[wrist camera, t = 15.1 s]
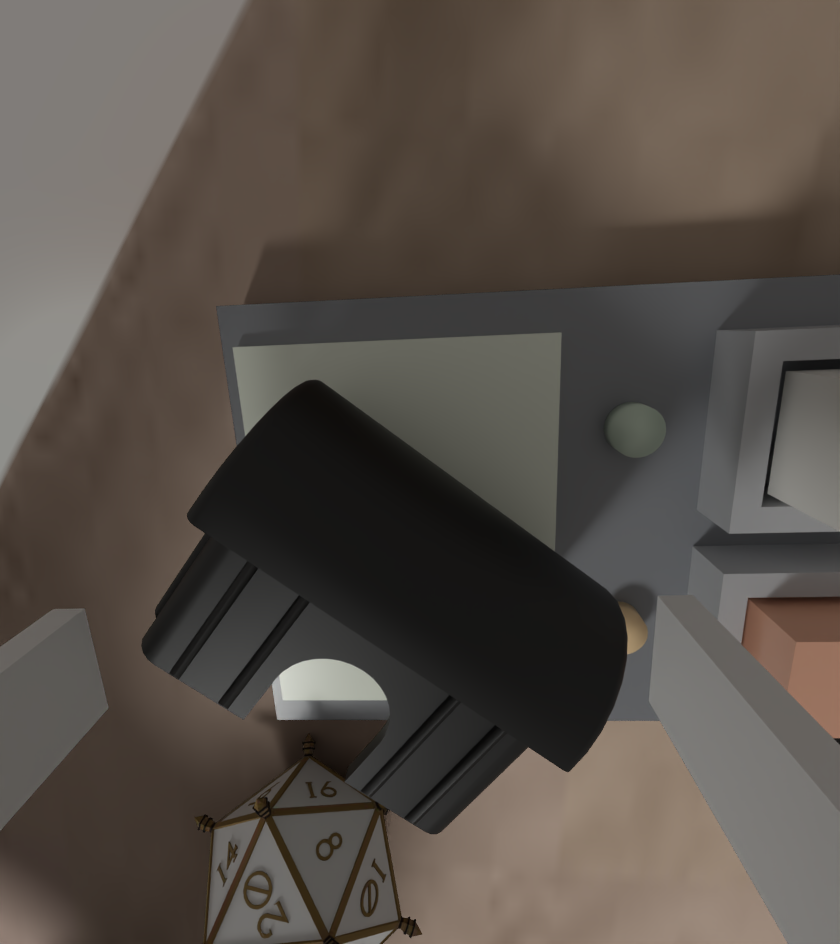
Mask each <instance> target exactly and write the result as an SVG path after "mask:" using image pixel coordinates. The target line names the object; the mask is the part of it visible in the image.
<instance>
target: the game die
mask: <svg viewBox="0 0 840 944" xmlns="http://www.w3.org/2000/svg"><path fill="white" fill-rule="evenodd" d="M314 744H315V742H314V741H313V739H312V738H311V736H310V734H308V736H307V737H306V739H305V741H304V742H303V745H304V748H303V751H304V753H305V755H304V757H303V758H302V759H300V760H299V761H298V762H296V763H295V764H294V765H292V766H291V767H290V768H288V769H287V770H286V771H284V772H283V773H282V774H280V775H279V776H278V777H276V778H275V779H274V780H272V781H271V782H270V783H268V784H267V785H266V786H264V787H263V788H262V789H260V790H259V791H258V792H256V793H255V794H254V795H252V796H251V797H250V798H248V799H247V800H246V801H244V802H243V803H242V804H240V805H239V806H238V807H236V808H235V809H234V810H232V811H231V812H230V813H228V814H227V815H226V816H224V817H223V818H222V819H220V820H219V821H218V822H216V823H215V822H214V821H213V820H212V819H213V818H208V815H204V816H199V817H194V818H195V821H196V823H197V826H198V830H200V829H201V830H203V832H205V831H210V832H211V842H210V856H209V870H208V884H207V898H206V912H205V926H204V939H203V944H383V943H384V942H385V941H386V940H387V939H388V938H389V937H390V936H391V935H392V934H393V933H394V932H395V931H396V930H397V929H398V928H400V929H401V930H402V931H403V932H404V934H405V935H406V934H408V935H409V937H410V938H411V937H412V936H417V935H422V933H421V931H420V929H419V927H418V925H417V923H416V919H415V920H411V919H410V917H408V918H403V917H402V916H401V911H400V905H399V899H398V894H397V888H396V883H395V877H394V871H393V866H392V860H391V854H390V849H389V843H388V838H387V832H386V826H385V821H384V815H387V812H388V809H387V808H386V807H384V806H383V805H381V804H379V803H378V802H376V801H374V800H373V799H371V798H370V797H368V796H366V795H365V794H363V793H361V792H360V791H358V790H357V789H355V788H353V787H352V786H350V785H349V784H347V783H345V778H344V777H342V776H341V775H339V774H338V773H336V772H335V771H333V770H332V769H330V768H329V767H327V766H326V765H325V764H323V763H322V762H320V761H319V760H317V759H316V758H314V757H313V756H312V753H313V750H314V749H315V748H314Z"/></svg>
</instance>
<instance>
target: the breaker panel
mask: <svg viewBox="0 0 840 944" xmlns="http://www.w3.org/2000/svg"><path fill="white" fill-rule="evenodd" d="M216 308H217V315H218V322H219V329H220V336H221V342H222V349H223V356H224V363H225V369H226V376H227V383H228V390H229V397H230V403H231V410H232V417H233V424H234V430H235V437H236V444H237V445H238V444H239V443H240V442H241V441H242V439H243V438H244V437H245V436H246V435H247V434H248V432H249V431H250V430H251V429H252V428H253V427H254V426H255V424H256V423H257V422H258V421H259V420H260V419H261V418H262V417H263V416H264V415H265V414H266V413H267V412H268V411H269V410H270V409H271V408H272V407H273V406H274V405H275V404H276V403H277V402H278V401H279V400H280V399H281V398H282V397H283V396H284V395H286V394H287V393H288V392H289V391H291V390H292V389H293V388H294V387H296V386H298V385H299V384H301V383H303V382H305V381H308V380H320V381H322V382H323V383H325V384H326V385H327V386H329V387H330V388H332V389H333V390H334V391H336V392H337V393H338V394H340V395H341V396H342V397H344V398H345V399H347V400H348V401H349V402H351V403H352V404H353V405H355V406H356V407H358V408H359V409H360V410H362V411H363V412H364V413H366V414H367V415H369V416H370V417H371V418H373V419H374V420H375V421H377V422H378V423H379V424H381V425H382V426H384V427H385V428H386V429H388V430H389V431H390V432H392V433H393V434H395V435H396V436H397V437H399V438H400V439H401V440H403V441H404V442H406V443H407V444H408V445H410V446H411V447H412V448H414V449H415V450H416V451H418V452H419V453H421V454H422V455H423V456H425V457H426V458H427V459H429V460H430V461H432V462H433V463H434V464H436V465H437V466H438V467H440V468H441V469H443V470H444V471H445V472H447V473H448V474H449V475H451V476H452V477H453V478H455V479H456V480H458V481H459V482H460V483H462V484H463V485H464V486H466V487H467V488H469V489H470V490H471V491H473V492H474V493H475V494H477V495H478V496H480V497H481V498H482V499H484V500H485V501H486V502H488V503H489V504H490V505H492V506H493V507H495V508H496V509H497V510H499V511H500V512H501V513H503V514H504V515H506V516H507V517H508V518H510V519H511V520H512V521H514V522H515V523H517V524H518V525H519V526H521V527H522V528H523V529H525V530H526V531H527V532H529V533H530V534H532V535H533V536H534V537H536V538H537V539H538V540H540V541H541V542H543V543H544V544H545V545H547V546H548V547H549V548H551V549H552V550H554V551H555V552H556V553H558V554H559V555H560V556H562V557H563V558H564V559H566V560H567V561H569V562H570V563H571V564H573V565H574V566H575V567H577V568H578V569H580V570H581V571H582V572H584V573H585V574H586V575H588V576H589V577H591V578H592V579H593V580H595V581H596V582H597V583H599V584H600V585H602V586H603V587H604V588H606V589H607V590H608V591H609V592H610V593H611V595H612V596H613V597H614V598H615V599H616V600H617V602H618V604H619V606H620V608H621V611H622V613H623V615H624V618H625V623H626V629H627V635H628V644H627V662H626V667H625V672H624V677H623V682H622V685H621V688H620V691H619V694H618V697H617V700H616V703H615V706H614V708H613V710H612V712H611V714H610V716H609V718H608V720H607V721H660V720H659V718H658V716H657V715H656V713H655V711H654V709H653V708H652V706H651V704H650V703H649V692H650V680H651V669H652V657H653V645H654V634H655V622H656V610H657V599H658V596H670V595H694V596H695V597H696V599H697V600H698V601H699V602H700V603H701V604H702V605H703V606H704V607H705V608H706V609H707V610H708V611H709V612H710V613H711V614H712V615H713V616H714V617H715V618H716V619H717V620H718V621H719V622H720V623H721V624H722V625H723V626H724V627H725V628H726V629H727V630H728V631H729V632H730V633H731V634H732V635H733V636H734V637H735V638H736V639H737V640H738V641H739V642H740V643H741V642H742V635H743V628H744V621H745V615H746V608H747V601H748V598H766V597H840V532H839V531H837V530H835V529H834V528H832V527H830V526H828V525H826V524H824V523H822V522H820V521H818V520H816V519H815V518H813V517H811V516H809V515H807V514H805V513H803V512H801V511H799V510H797V509H796V508H794V507H792V506H790V505H788V504H786V503H784V502H782V501H780V500H778V499H777V498H775V497H773V496H771V495H769V494H768V487H769V480H770V474H771V467H772V460H773V454H774V447H775V441H776V434H777V427H778V421H779V414H780V407H781V401H782V394H783V387H784V381H785V374H786V371H803V370H829V369H840V275H821V276H802V277H782V278H762V279H742V280H723V281H703V282H683V283H663V284H643V285H624V286H604V287H584V288H564V289H545V290H525V291H505V292H485V293H466V294H446V295H426V296H406V297H387V298H367V299H347V300H327V301H308V302H288V303H268V304H248V305H229V306H216ZM272 688H273V695H274V701H275V708H276V715H277V720H388V718H389V716H390V710H389V704H388V701H387V698H386V696H385V694H384V692H383V691H382V689H381V687H380V686H379V685H378V684H377V683H376V681H375V680H374V679H373V678H372V677H371V676H369V675H368V674H367V673H365V672H364V671H363V670H361V669H359V668H357V667H355V666H353V665H351V664H348V663H345V662H342V661H338V660H332V659H312V660H307V661H302V662H300V663H297V664H295V665H292V666H291V667H289V668H288V669H286V670H285V671H283V672H282V673H281V674H280V675H279V676H278V677H277V678H276V679H275V680H274V682H273V683H272Z"/></svg>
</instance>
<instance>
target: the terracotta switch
mask: <svg viewBox="0 0 840 944" xmlns="http://www.w3.org/2000/svg"><path fill="white" fill-rule="evenodd" d="M741 645H742V646H743V647H744V648H745V649H746V650H747V651H748V652H749V653H750V654H751V655H752V656H753V657H754V658H755V659H756V660H757V661H758V662H759V663H760V664H761V665H762V666H763V667H764V668H765V669H766V670H767V671H768V672H769V673H770V674H771V675H772V676H773V677H774V678H775V679H776V680H777V681H778V682H779V683H780V684H781V685H782V686H783V687H784V688H785V689H786V690H787V692H788V693H789V694H790V695H791V696H792V697H793V698H794V699H795V700H796V701H797V702H798V703H799V704H800V705H801V706H802V707H803V708H804V709H805V710H806V711H807V712H808V713H809V714H810V715H811V716H812V717H813V718H814V719H815V720H816V721H817V722H818V723H819V724H820V725H821V726H822V727H823V728H824V729H825V730H826V731H827V732H828V733H829V734H830V735H831V736H832V737H833V738H840V597H766V598H748V601H747V608H746V615H745V621H744V628H743V635H742V642H741Z"/></svg>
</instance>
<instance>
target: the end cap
mask: <svg viewBox="0 0 840 944" xmlns="http://www.w3.org/2000/svg"><path fill="white" fill-rule="evenodd" d="M187 518H188V520H189V521H190V523H191V524H193V525H194V526H195V527H197V528H198V529H200V530H201V531H203V532H204V533H205V534H204V536H203V537H202V539H201V540H200V542H199V543H198V545H197V546H196V548H195V549H194V551H193V552H192V554H191V555H190V557H189V558H188V560H187V561H186V563H185V564H184V566H183V568H182V569H181V571H180V572H179V574H178V575H177V577H176V578H175V580H174V581H173V583H172V584H171V586H170V587H169V589H168V590H167V592H166V593H165V595H164V596H163V598H162V599H161V601H160V602H159V604H158V605H157V607H156V610H155V615H156V619H155V621H154V622H153V624H152V625H151V627H150V628H149V630H148V631H147V633H146V634H145V636H144V637H143V639H142V645H141V646H142V650H143V653H144V655H145V656H146V658H147V659H148V660H149V661H150V662H151V663H153V664H154V665H155V666H157V667H159V668H160V669H162V670H163V671H165V672H167V673H168V674H170V675H172V676H173V677H175V678H176V679H178V680H180V681H181V682H183V683H185V684H186V685H188V686H189V687H191V688H193V689H194V690H196V691H198V692H199V693H201V694H202V695H204V696H206V697H207V698H209V699H211V700H212V701H214V702H215V703H217V704H219V705H220V706H222V707H224V708H225V709H227V710H228V711H230V712H232V713H233V714H235V715H236V716H238V717H240V718H241V719H243V720H244V719H245V717H246V716H247V715H248V713H249V712H250V711H251V710H252V708H253V707H254V706H255V705H256V703H257V702H258V701H259V699H260V698H261V697H262V696H263V694H264V693H265V692H266V691H267V689H268V688H269V687H270V685H271V684H272V683H273V682H274V680H275V679H276V678H277V677H278V676H279V675H280V674H281V673H282V672H283V671H285V670H286V669H288V668H289V667H291V666H292V665H295V664H297V663H300V662H302V661H307V660H312V659H332V660H338V661H342V662H345V663H348V664H351V665H353V666H355V667H357V668H359V669H361V670H363V671H364V672H365V673H367V674H368V675H369V676H371V677H372V678H373V679H374V680H375V681H376V683H377V684H378V685H379V686H380V687H381V689H382V691H383V692H384V694H385V696H386V698H387V701H388V704H389V710H390V716H389V718H388V721H387V723H386V724H385V726H384V727H383V728H382V730H381V731H380V732H379V733H378V734H377V735H376V736H375V738H374V739H373V740H372V741H371V742H370V743H369V744H368V745H367V746H366V748H365V749H364V750H363V751H362V752H361V753H360V754H359V755H358V756H357V758H356V759H355V760H354V761H353V762H352V763H351V764H350V765H349V766H348V769H347V774H346V778H345V783H347V784H349V785H350V786H352V787H353V788H355V789H357V790H358V791H360V792H361V793H363V794H365V795H366V796H368V797H370V798H371V799H373V800H374V801H376V802H378V803H379V804H381V805H383V806H384V807H386V808H387V809H389V810H391V811H392V812H394V813H396V814H397V815H399V816H400V817H402V818H404V819H405V820H407V821H409V822H410V823H412V824H413V825H415V826H417V827H418V828H420V829H422V830H423V831H425V832H427V833H430V834H438V833H440V832H441V831H442V830H443V829H444V828H445V827H447V826H448V825H449V824H450V823H451V822H452V821H453V820H454V819H455V818H456V817H457V816H458V815H459V814H460V813H461V812H462V811H463V810H464V809H465V808H466V807H467V806H468V805H469V804H470V803H471V802H472V801H473V800H474V799H475V798H476V797H477V796H478V795H479V794H481V793H482V792H483V791H484V790H485V789H486V788H487V787H488V786H489V785H490V784H491V783H492V782H493V781H494V780H495V779H496V778H497V777H498V776H499V775H500V774H501V773H502V772H503V771H504V770H505V769H506V768H507V767H508V766H509V765H510V764H511V763H512V762H513V761H515V760H516V759H517V758H518V757H519V756H520V755H521V754H522V753H523V752H524V751H525V750H526V749H527V748H528V747H529V748H530V749H532V750H533V751H535V752H537V753H538V754H540V755H541V756H543V757H544V758H546V759H547V760H549V761H550V762H552V763H553V764H555V765H556V766H558V767H559V768H561V769H562V770H564V771H566V772H569V771H571V769H572V768H573V767H574V766H575V765H576V764H577V763H578V762H579V761H580V760H581V759H582V758H583V756H584V755H585V754H586V753H587V752H588V750H589V749H590V748H591V746H592V745H593V743H594V742H595V740H596V739H597V737H598V736H599V734H600V733H601V732H602V730H603V728H604V726H605V724H606V722H607V720H608V718H609V716H610V714H611V712H612V710H613V708H614V706H615V703H616V700H617V697H618V694H619V691H620V688H621V685H622V682H623V677H624V672H625V667H626V662H627V644H628V635H627V629H626V623H625V618H624V615H623V613H622V611H621V608H620V606H619V604H618V602H617V600H616V599H615V598H614V597H613V596H612V595H611V593H610V592H609V591H608V590H607V589H606V588H604V587H603V586H602V585H600V584H599V583H597V582H596V581H595V580H593V579H592V578H591V577H589V576H588V575H586V574H585V573H584V572H582V571H581V570H580V569H578V568H577V567H575V566H574V565H573V564H571V563H570V562H569V561H567V560H566V559H564V558H563V557H562V556H560V555H559V554H558V553H556V552H555V551H554V550H552V549H551V548H549V547H548V546H547V545H545V544H544V543H543V542H541V541H540V540H538V539H537V538H536V537H534V536H533V535H532V534H530V533H529V532H527V531H526V530H525V529H523V528H522V527H521V526H519V525H518V524H517V523H515V522H514V521H512V520H511V519H510V518H508V517H507V516H506V515H504V514H503V513H501V512H500V511H499V510H497V509H496V508H495V507H493V506H492V505H490V504H489V503H488V502H486V501H485V500H484V499H482V498H481V497H480V496H478V495H477V494H475V493H474V492H473V491H471V490H470V489H469V488H467V487H466V486H464V485H463V484H462V483H460V482H459V481H458V480H456V479H455V478H453V477H452V476H451V475H449V474H448V473H447V472H445V471H444V470H443V469H441V468H440V467H438V466H437V465H436V464H434V463H433V462H432V461H430V460H429V459H427V458H426V457H425V456H423V455H422V454H421V453H419V452H418V451H416V450H415V449H414V448H412V447H411V446H410V445H408V444H407V443H406V442H404V441H403V440H401V439H400V438H399V437H397V436H396V435H395V434H393V433H392V432H390V431H389V430H388V429H386V428H385V427H384V426H382V425H381V424H379V423H378V422H377V421H375V420H374V419H373V418H371V417H370V416H369V415H367V414H366V413H364V412H363V411H362V410H360V409H359V408H358V407H356V406H355V405H353V404H352V403H351V402H349V401H348V400H347V399H345V398H344V397H342V396H341V395H340V394H338V393H337V392H336V391H334V390H333V389H332V388H330V387H329V386H327V385H326V384H325V383H323V382H322V381H320V380H308V381H305V382H303V383H301V384H299V385H298V386H296V387H294V388H293V389H292V390H291V391H289V392H288V393H287V394H286V395H284V396H283V397H282V398H281V399H280V400H279V401H278V402H277V403H276V404H275V405H274V406H273V407H272V408H271V409H270V410H269V411H268V412H267V413H266V414H265V415H264V416H263V417H262V418H261V419H260V420H259V421H258V422H257V423H256V424H255V426H254V427H253V428H252V429H251V430H250V431H249V432H248V434H247V435H246V436H245V437H244V438H243V439H242V441H241V442H240V443H239V444H238V445H237V446H236V448H235V449H234V450H233V451H232V453H231V454H230V455H229V457H228V458H227V459H226V460H225V462H224V463H223V464H222V465H221V467H220V468H219V469H218V470H217V472H216V473H215V475H214V476H213V477H212V479H211V480H210V481H209V483H208V484H207V485H206V487H205V488H204V490H203V491H202V492H201V494H200V495H199V497H198V498H197V500H196V501H195V503H194V504H193V506H192V507H191V509H190V510H189V512H188V513H187Z"/></svg>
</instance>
